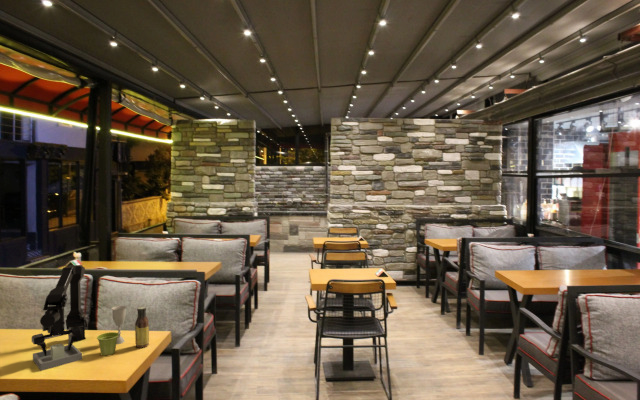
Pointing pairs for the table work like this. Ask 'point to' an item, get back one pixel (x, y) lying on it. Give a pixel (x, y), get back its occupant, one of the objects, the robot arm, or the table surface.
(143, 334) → the sauce bottle
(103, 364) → the table surface
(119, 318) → the chalice
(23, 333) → the table surface
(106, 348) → the plant pot
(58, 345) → the sage block
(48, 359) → the tray
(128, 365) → the table surface
